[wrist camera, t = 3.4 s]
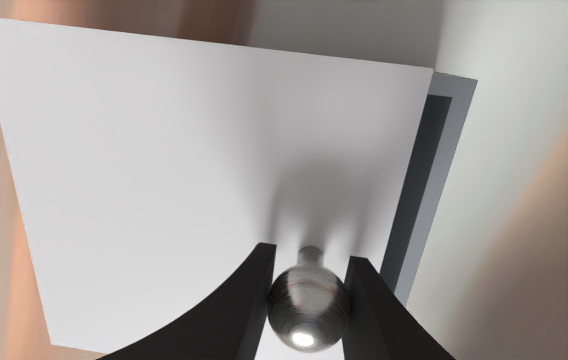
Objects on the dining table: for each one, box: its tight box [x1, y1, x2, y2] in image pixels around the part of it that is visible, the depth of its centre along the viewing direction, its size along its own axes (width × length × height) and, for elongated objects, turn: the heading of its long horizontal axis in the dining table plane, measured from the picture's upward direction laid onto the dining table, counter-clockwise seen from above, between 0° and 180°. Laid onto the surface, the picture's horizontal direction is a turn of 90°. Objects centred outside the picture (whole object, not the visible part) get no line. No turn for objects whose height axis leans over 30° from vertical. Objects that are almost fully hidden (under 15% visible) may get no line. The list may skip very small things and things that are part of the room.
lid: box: [0, 18, 434, 360], centre depth 11 cm, size 14×14×4 cm
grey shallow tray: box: [379, 72, 478, 307], centre depth 15 cm, size 14×14×4 cm
